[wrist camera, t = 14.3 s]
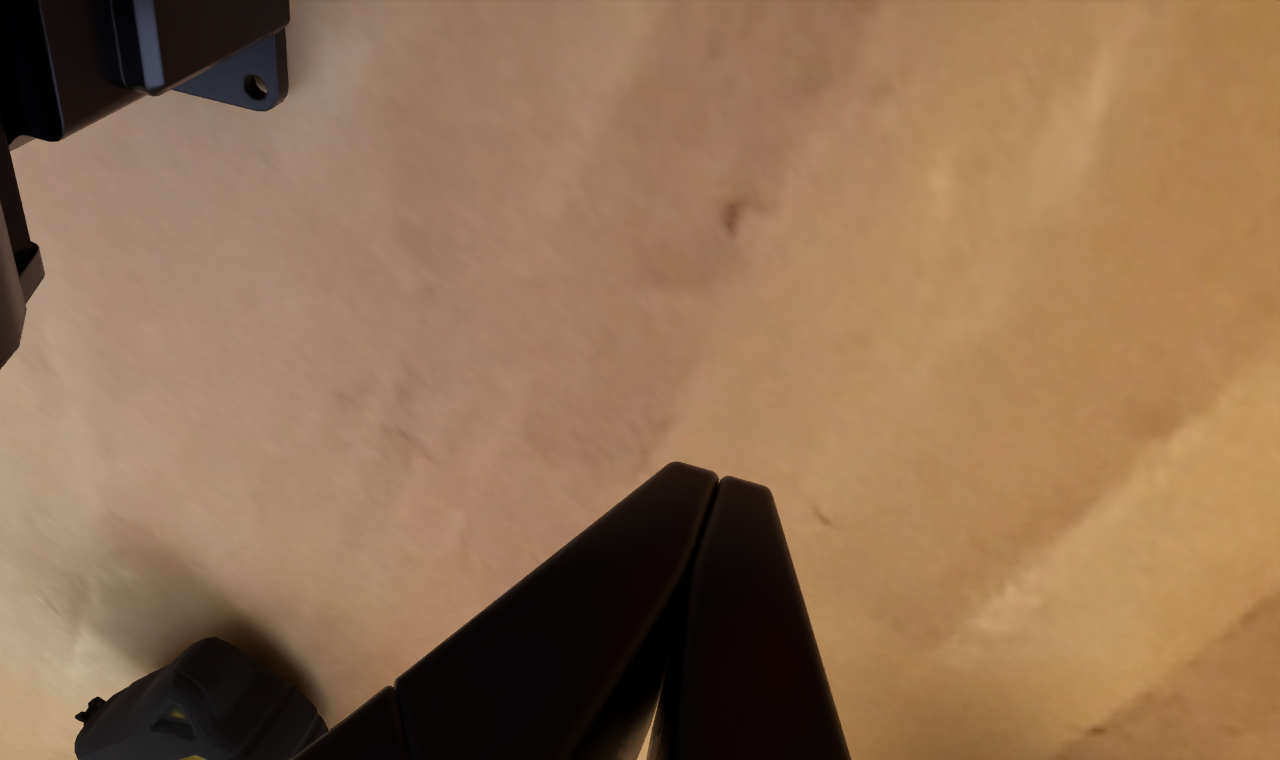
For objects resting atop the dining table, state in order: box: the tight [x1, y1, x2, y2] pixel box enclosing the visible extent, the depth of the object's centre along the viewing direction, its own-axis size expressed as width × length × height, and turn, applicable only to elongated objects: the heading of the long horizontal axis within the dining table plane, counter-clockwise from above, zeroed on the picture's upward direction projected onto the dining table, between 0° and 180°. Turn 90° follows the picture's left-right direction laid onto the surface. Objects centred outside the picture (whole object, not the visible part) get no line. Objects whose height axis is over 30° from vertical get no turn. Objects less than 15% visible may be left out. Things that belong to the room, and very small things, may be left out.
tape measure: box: [75, 637, 329, 760], centre depth 33 cm, size 7×7×4 cm
